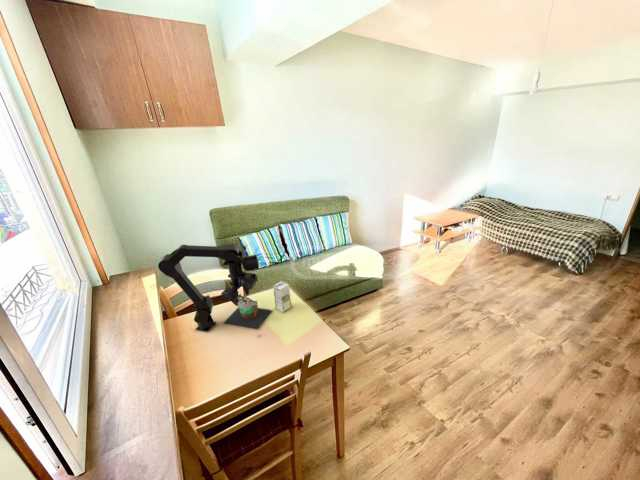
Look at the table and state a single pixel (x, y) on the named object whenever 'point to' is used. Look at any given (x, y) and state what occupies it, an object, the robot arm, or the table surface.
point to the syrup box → (282, 296)
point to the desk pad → (251, 323)
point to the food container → (247, 307)
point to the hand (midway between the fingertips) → (242, 300)
